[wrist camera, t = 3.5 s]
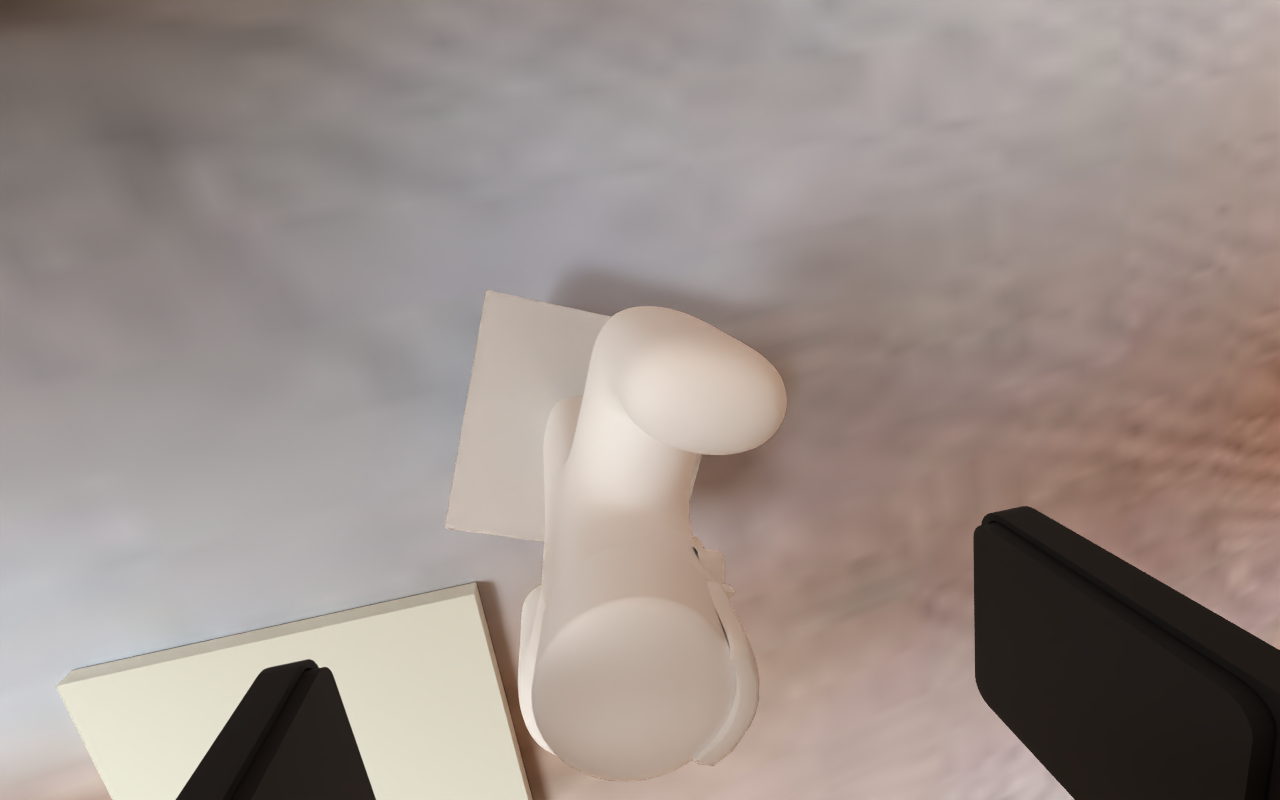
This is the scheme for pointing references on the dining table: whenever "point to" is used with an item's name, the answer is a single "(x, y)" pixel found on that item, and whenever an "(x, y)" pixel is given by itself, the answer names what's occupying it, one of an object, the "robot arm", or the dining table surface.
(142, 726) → the cream board
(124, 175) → the dining table surface
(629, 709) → the figurine
